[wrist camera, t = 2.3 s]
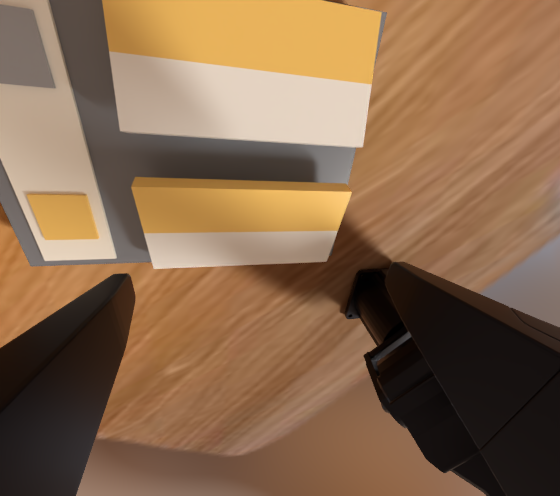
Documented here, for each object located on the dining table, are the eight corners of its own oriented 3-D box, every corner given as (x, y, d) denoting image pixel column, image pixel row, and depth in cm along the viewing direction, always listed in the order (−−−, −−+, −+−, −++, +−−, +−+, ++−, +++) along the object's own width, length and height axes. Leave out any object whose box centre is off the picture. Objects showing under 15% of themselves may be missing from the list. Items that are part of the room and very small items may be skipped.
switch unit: (319, 237, 24) (334, 260, 21) (54, 242, 19) (24, 272, 16) (360, 23, 16) (394, 9, 13) (-62, -54, 12) (-163, -104, 8)
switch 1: (353, 147, 15) (362, 147, 14) (127, 132, 13) (120, 131, 12) (370, 21, 13) (381, 12, 12) (106, -28, 11) (96, -45, 10)
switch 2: (322, 252, 20) (326, 261, 20) (156, 257, 18) (153, 268, 17) (346, 183, 16) (352, 191, 16) (135, 176, 14) (131, 186, 13)
